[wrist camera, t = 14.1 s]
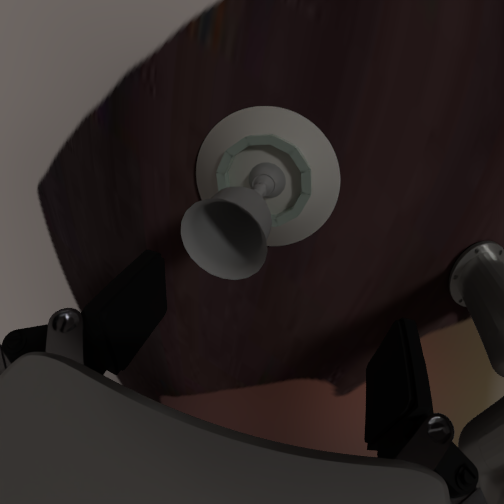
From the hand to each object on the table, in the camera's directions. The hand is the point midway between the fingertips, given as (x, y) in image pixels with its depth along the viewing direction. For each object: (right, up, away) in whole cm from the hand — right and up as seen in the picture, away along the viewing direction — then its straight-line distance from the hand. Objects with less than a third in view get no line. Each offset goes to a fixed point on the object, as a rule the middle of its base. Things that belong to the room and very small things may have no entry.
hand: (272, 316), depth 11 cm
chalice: (+1, +12, +27) cm, 29 cm away
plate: (+1, +12, +27) cm, 30 cm away
